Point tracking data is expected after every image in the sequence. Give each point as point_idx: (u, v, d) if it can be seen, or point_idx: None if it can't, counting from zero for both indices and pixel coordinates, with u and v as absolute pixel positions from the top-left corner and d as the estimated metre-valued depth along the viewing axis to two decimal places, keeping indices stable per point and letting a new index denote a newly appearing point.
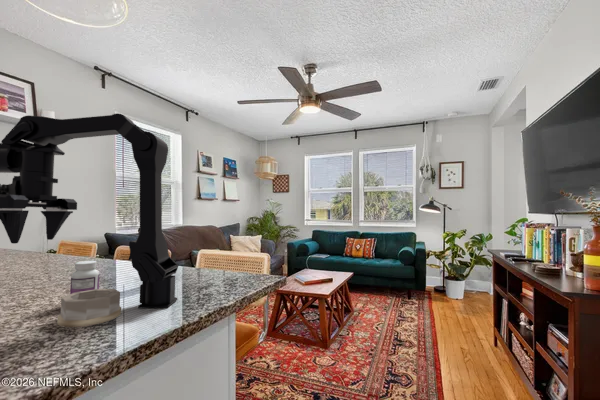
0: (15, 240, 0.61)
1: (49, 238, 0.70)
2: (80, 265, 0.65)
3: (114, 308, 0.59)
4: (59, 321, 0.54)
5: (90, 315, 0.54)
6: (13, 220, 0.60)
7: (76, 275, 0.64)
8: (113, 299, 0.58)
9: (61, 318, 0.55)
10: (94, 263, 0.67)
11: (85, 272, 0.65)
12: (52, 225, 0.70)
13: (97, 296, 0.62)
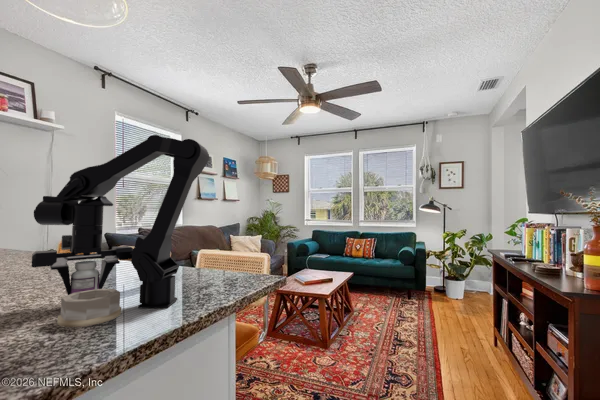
0: (67, 293, 0.64)
1: None
2: (80, 265, 0.65)
3: (114, 308, 0.59)
4: (59, 321, 0.54)
5: (90, 315, 0.54)
6: None
7: (76, 275, 0.64)
8: (113, 299, 0.58)
9: (61, 318, 0.55)
10: (94, 263, 0.67)
11: (85, 272, 0.65)
12: (100, 276, 0.69)
13: (97, 296, 0.62)
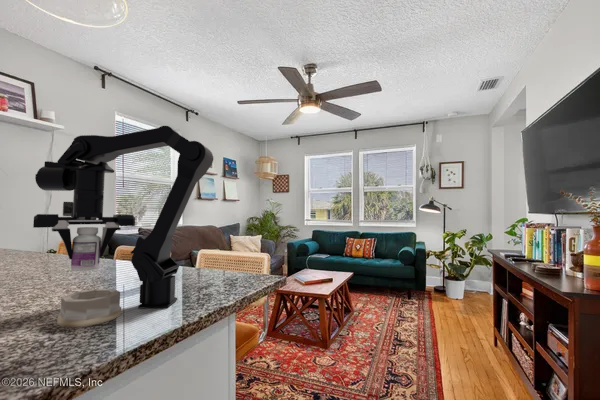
0: (68, 256, 0.65)
1: None
2: (82, 229, 0.66)
3: (114, 308, 0.59)
4: (59, 321, 0.54)
5: (90, 315, 0.54)
6: None
7: (78, 238, 0.65)
8: (113, 299, 0.58)
9: (61, 318, 0.55)
10: (96, 229, 0.68)
11: (87, 237, 0.66)
12: (102, 242, 0.69)
13: (97, 296, 0.62)
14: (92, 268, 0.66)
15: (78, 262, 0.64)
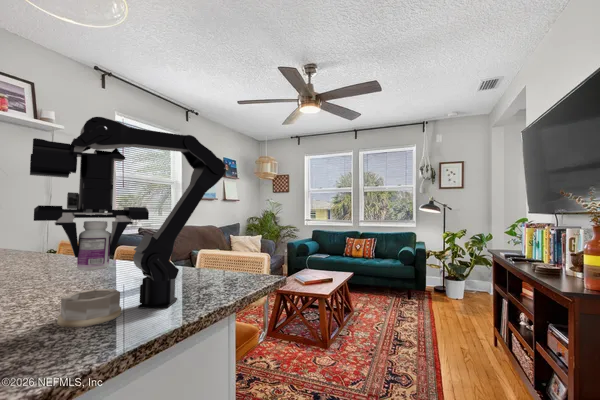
0: (74, 254, 0.56)
1: None
2: (89, 223, 0.57)
3: (114, 308, 0.59)
4: (59, 321, 0.54)
5: (90, 315, 0.54)
6: None
7: (85, 234, 0.57)
8: (113, 299, 0.58)
9: (61, 318, 0.55)
10: (105, 223, 0.59)
11: (95, 232, 0.57)
12: (111, 238, 0.61)
13: (97, 296, 0.62)
14: (101, 268, 0.58)
15: (86, 261, 0.56)
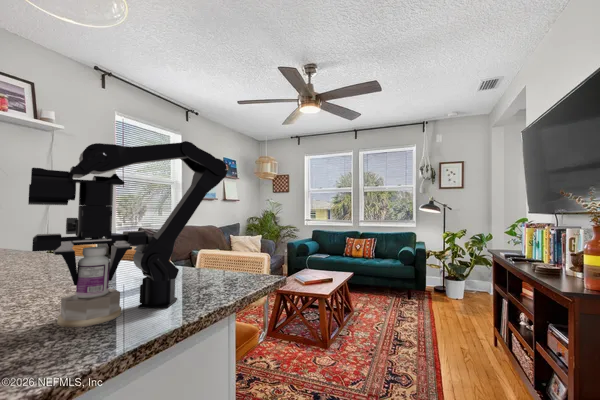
0: (73, 282, 0.56)
1: None
2: (88, 250, 0.57)
3: (114, 308, 0.59)
4: (59, 321, 0.54)
5: (90, 315, 0.54)
6: None
7: (84, 261, 0.56)
8: (113, 299, 0.58)
9: (61, 318, 0.55)
10: (104, 249, 0.59)
11: (94, 259, 0.57)
12: (111, 264, 0.60)
13: None
14: (100, 295, 0.58)
15: (85, 289, 0.56)
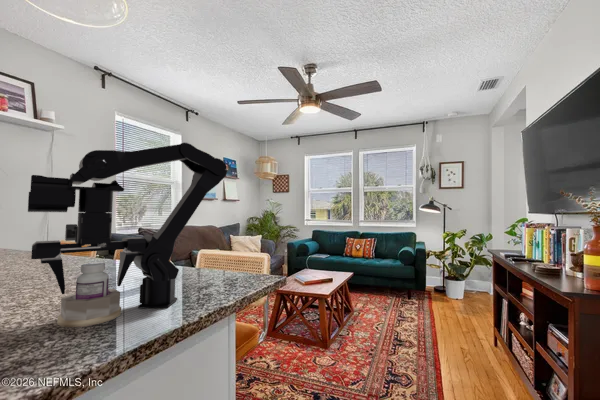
0: (61, 291, 0.55)
1: (117, 284, 0.61)
2: (87, 268, 0.57)
3: (114, 308, 0.59)
4: (59, 321, 0.54)
5: (90, 315, 0.54)
6: None
7: (83, 279, 0.56)
8: (113, 299, 0.58)
9: (61, 318, 0.55)
10: (103, 265, 0.59)
11: (92, 276, 0.57)
12: (120, 270, 0.61)
13: None
14: None
15: None
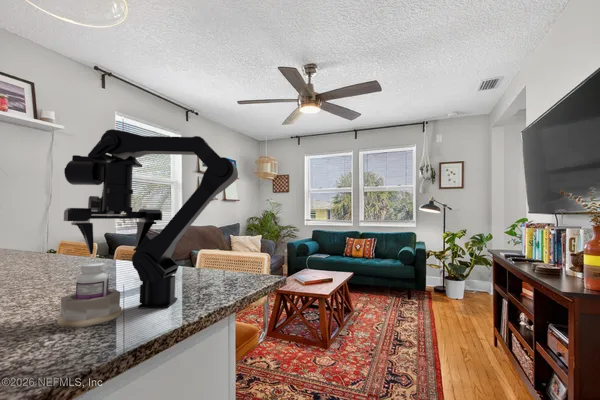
0: (89, 251, 0.63)
1: None
2: (87, 268, 0.57)
3: (114, 308, 0.59)
4: (59, 321, 0.54)
5: (90, 315, 0.54)
6: None
7: (83, 279, 0.56)
8: (113, 299, 0.58)
9: (61, 318, 0.55)
10: (103, 265, 0.59)
11: (92, 276, 0.57)
12: (138, 236, 0.70)
13: None
14: None
15: None
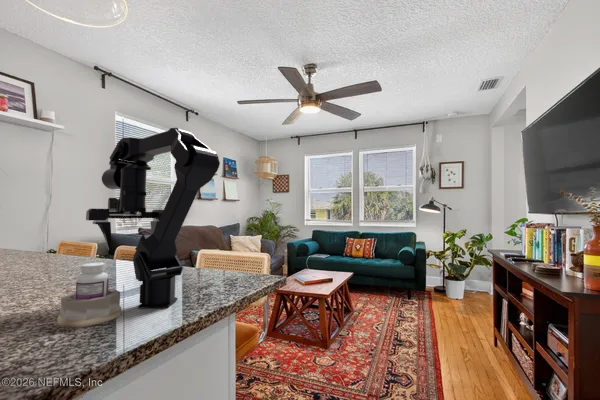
0: (108, 247, 0.70)
1: None
2: (87, 268, 0.57)
3: (114, 308, 0.59)
4: (59, 321, 0.54)
5: (90, 315, 0.54)
6: None
7: (83, 279, 0.56)
8: (113, 299, 0.58)
9: (61, 318, 0.55)
10: (103, 265, 0.59)
11: (92, 276, 0.57)
12: (151, 234, 0.77)
13: None
14: None
15: None
